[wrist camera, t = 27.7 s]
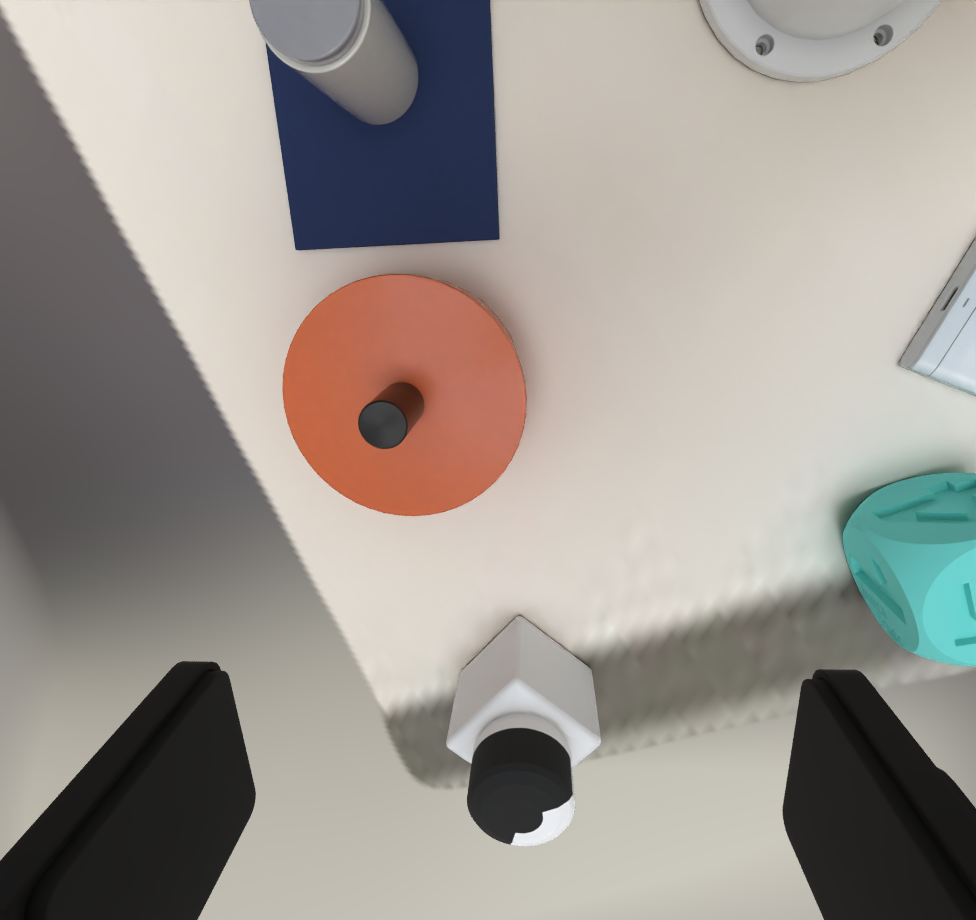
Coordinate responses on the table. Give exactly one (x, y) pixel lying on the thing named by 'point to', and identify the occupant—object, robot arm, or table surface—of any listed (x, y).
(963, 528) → the decorative dice
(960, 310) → the hard drive
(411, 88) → the salt shaker
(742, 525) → the table surface
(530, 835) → the medicine bottle
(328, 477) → the pot lid
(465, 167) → the towel
